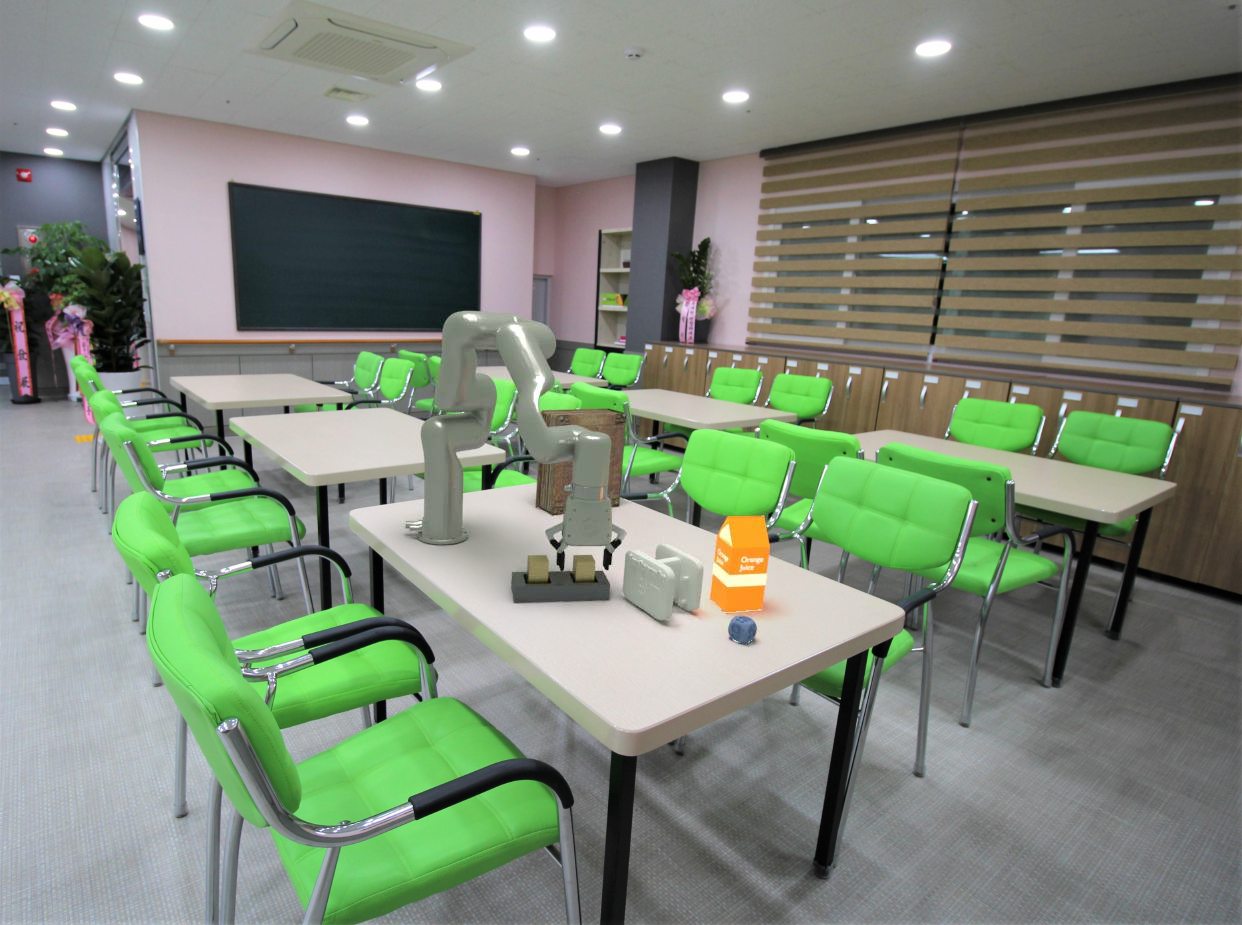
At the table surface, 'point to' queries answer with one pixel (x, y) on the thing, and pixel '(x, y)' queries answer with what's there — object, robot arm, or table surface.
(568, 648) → the table surface
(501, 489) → the table surface
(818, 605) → the table surface
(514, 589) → the peg holder block
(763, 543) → the orange juice
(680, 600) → the cable organizer
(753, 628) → the decorative dice
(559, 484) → the book
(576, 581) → the brass square peg
